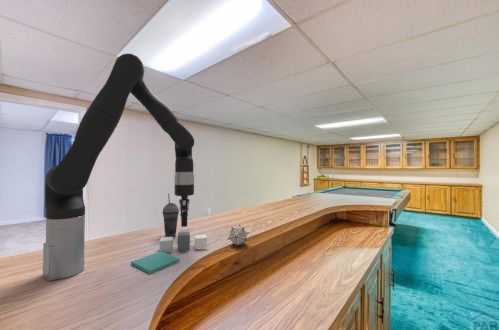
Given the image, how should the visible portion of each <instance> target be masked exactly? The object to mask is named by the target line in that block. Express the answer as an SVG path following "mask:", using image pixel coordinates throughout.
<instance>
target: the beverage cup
mask: <svg viewBox="0 0 499 330" xmlns="http://www.w3.org/2000/svg"><path fill="white" fill-rule="evenodd" d="M167 195H168V203H167V204H165V205H164V207H163V208H162V212H161V213H162V217H163V226H164V235H165V236H164V237H173V239H174V238H176V236H177V230H178V229H177V228H178V217H179V215H180V214H179V212H180V208H179V207H178V205H177V204H176V203H173V202H171V199H170V193H168V194H167Z"/></svg>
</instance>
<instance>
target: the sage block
mask: <svg viewBox="0 0 499 330" xmlns="http://www.w3.org/2000/svg"><path fill="white" fill-rule="evenodd" d="M179 232H190V233H191V231H190V228H181V229H178V233H179Z"/></svg>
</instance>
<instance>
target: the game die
mask: <svg viewBox="0 0 499 330" xmlns="http://www.w3.org/2000/svg"><path fill="white" fill-rule="evenodd" d="M229 232H230V234H229V237H228V238H227V240H230V241H231V243H232V244H233V243H234V244H233V245H235V248H238V246H240V245H243V244H244V245H246V243H245V242H246V241H248V239H247V237H248V234H250V232H248V231H246V230H245V227H241V224H239V225H238V226H236V227H233V226H232V227H231V230H230V231H229Z"/></svg>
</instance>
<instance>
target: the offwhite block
mask: <svg viewBox="0 0 499 330" xmlns="http://www.w3.org/2000/svg"><path fill="white" fill-rule="evenodd" d="M207 241H208V238H207V234H195V235H194V250H195V249H198V248H204V247H207V243H208V242H207Z"/></svg>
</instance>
